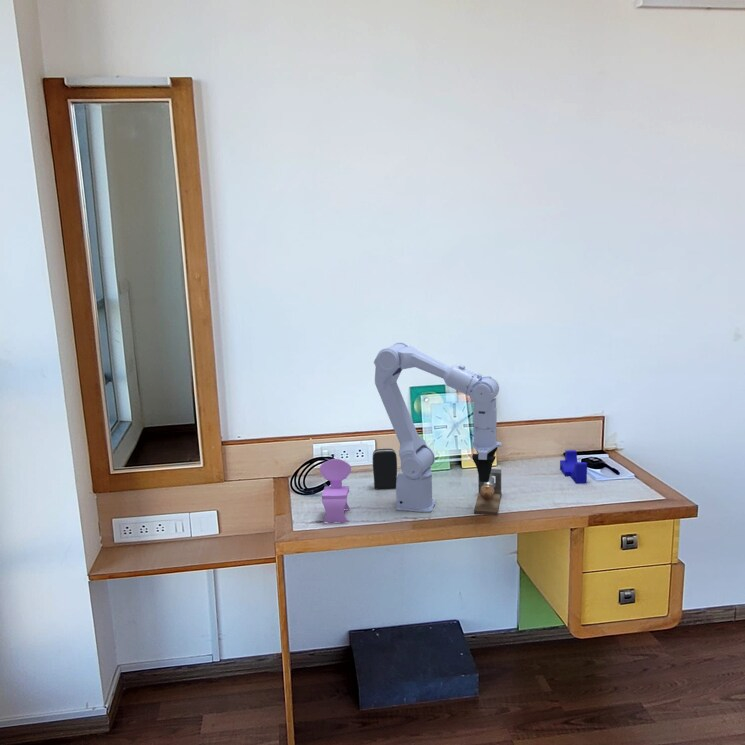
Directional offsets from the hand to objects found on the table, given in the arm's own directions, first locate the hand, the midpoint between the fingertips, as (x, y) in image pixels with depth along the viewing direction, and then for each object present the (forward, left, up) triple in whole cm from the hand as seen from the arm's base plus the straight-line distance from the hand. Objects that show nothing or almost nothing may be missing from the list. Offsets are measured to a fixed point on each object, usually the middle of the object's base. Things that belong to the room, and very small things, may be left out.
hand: (485, 477), depth 178 cm
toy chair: (-38, -6, -11) cm, 40 cm away
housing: (0, +14, -9) cm, 17 cm away
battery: (-30, +16, -11) cm, 35 cm away
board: (0, +8, -10) cm, 13 cm away
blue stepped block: (+23, +32, -11) cm, 40 cm away
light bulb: (0, +9, -8) cm, 12 cm away
